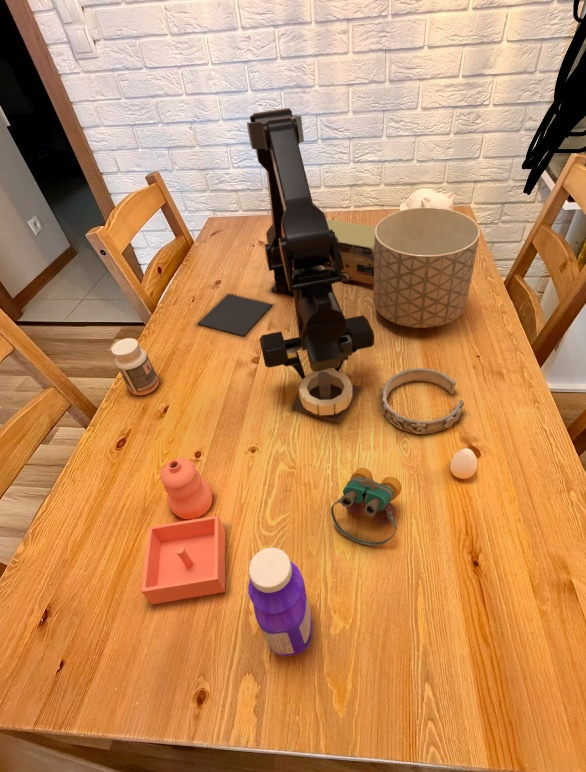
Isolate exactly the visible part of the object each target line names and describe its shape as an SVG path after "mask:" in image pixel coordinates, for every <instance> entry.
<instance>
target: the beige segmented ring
mask: <svg viewBox="0 0 586 772" xmlns="http://www.w3.org/2000/svg"><path fill="white" fill-rule="evenodd" d="M323 371H325V372H328V373H329V375H330V384H332V385H334V386H336V387H339V388H341V390H342V394H341V395H339V396H337V397H336V398H334V399H330V400H319V399H317V398H315V397H313V396H311V395H310V394H309V393H310V390H311V389H313V388H315V387H316V386H318V385H319V383H318V374H319V373H320V372H323ZM352 385H353V383H352V382H351V380H350V379H349V376H348V375H346V374H345V373H344V372H341V371H339V372H338V371H336V370H334V369H333V368H331V369H326V370H322V371H319V372H315V371H312V372H310V373H308V374H305V378H303V379H301V382H300V384H299V386H298V397H299V396H300V400H301V402H302V405H303V407H305V409H306V410H308V411H310V412H312V413H314V414H316V415H317V414H318V413H319V415H334V413H335V414H337V413H339V412H341V411H342V410H344V409H346V408H347V406H349V407H350V405H351V403H350V401H351V399H352ZM349 404H350V405H349ZM347 409H348V408H347Z"/></svg>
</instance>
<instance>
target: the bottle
mask: <svg viewBox="0 0 586 772" xmlns="http://www.w3.org/2000/svg"><path fill="white" fill-rule="evenodd" d="M248 574H249V582H248V586H247V587H248V588H247V589H248V590H247V591H248V595H249V599H250V601H251V603H252V605H253V613H254V617H255V620H256V622H257V624H258V626H259V627H260V630H261V632H262V635H263V636H264V638H265V640H266V643H267V645H268V648H269V649H270V651H271V652H272V653H273V654H275V655H277V656H280V657H293V656H295V655H296V656H297V655H300V654H302V653H304V652H305V651H306V650H307V649H308V648H309V646H310V645H311V642H312V638H313V629H314V628H313V626H314V625H313V616H312V615H313V614H312V609H311V606H310V603H309V599H308V595H307V591H306V584H305V580H304V578H303V575H302V572H301V571H300V569H299V568H298V566H297V565H296V564H295V563H294V562H293V561H291V560H290V558H289V556H288V554H287V553H286V552H285V551H284V550H283V549H280V548H279V547H266V548H263V549H261V550H259V551H258V552H256V553H255V554H254V555H253V557H252V558H251V560H250V562H249V567H248Z"/></svg>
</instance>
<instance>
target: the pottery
mask: <svg viewBox="0 0 586 772" xmlns="http://www.w3.org/2000/svg"><path fill="white" fill-rule="evenodd" d="M160 481H161V483H162V485H163V487H164V491H165V493H166V494H167V496H166V497H167V498H166V499H167V504H168V505H167V506H168V508H169V509H170V511H171V512H172V513H173V514H175V515H176V516H177V517H179V518H181V519H182V521H175V522H170V523H163V524H158V525H150V526H148V534H147V541H146V549H145V557H144V567H143V574H142V583H141V594H142V595H144V596H145V597H146V599H147V600H148V601H149V602H150V603H151V604H152V605H156V604H163V603H169V602H175V601H181V600H186V599H192V598H198V597H204V596H209V595H215V594H221V593H225V592H226V529H225V528H224V526H223V525H224V524H223V523H222V521H221V518H220V517H219V515H213V516H207V517H202V516H204V515H205V514H206V513H207V512H208V511H209V510H210V508H211V506H212V504H213V489H212V487H211V484H210V483H209V482H208V481H207V480H206V479H205V478H203V477H202V476H201V472H200V471H199V470H197V468H196V465H195V464H194V463H193V462H192V461H191V460H190V459H189V458H185V457H177V458H174V459H173V458H172V459H171V460H169V461H168V462H167V463H166V464H164V465H163V467H162V468H161V471H160Z"/></svg>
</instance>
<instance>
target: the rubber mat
mask: <svg viewBox="0 0 586 772" xmlns="http://www.w3.org/2000/svg"><path fill="white" fill-rule="evenodd" d="M272 307H273V304H272V303H267V302H264V301H260V300H255V299H251V298H247V297H242V296H237V295H233V294H227V295H226V296H224V298H222V299H221V300H220V301H219V302H218V303H217V304H216V305H215V306H214V307H213V308H211V310H210V311H209V312H208V313H207V314H206V315H205V316H204V317H203V318H201V320H200V321H198V323H197V325H198V326H201V327H205V328H209V329H213V330H217V331H220V332H223V333H228V334H232V335H235V336H239V337H246V335H248V333H249V332H251V330H252V329H253V328H254V326H255V325H256V324H257V323H259V321H260V320H261V319H262V318H264V315H266V314H267V312H269V310H270V309H271V308H272Z"/></svg>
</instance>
